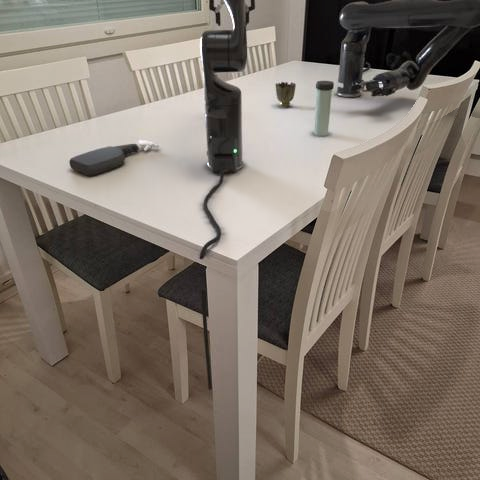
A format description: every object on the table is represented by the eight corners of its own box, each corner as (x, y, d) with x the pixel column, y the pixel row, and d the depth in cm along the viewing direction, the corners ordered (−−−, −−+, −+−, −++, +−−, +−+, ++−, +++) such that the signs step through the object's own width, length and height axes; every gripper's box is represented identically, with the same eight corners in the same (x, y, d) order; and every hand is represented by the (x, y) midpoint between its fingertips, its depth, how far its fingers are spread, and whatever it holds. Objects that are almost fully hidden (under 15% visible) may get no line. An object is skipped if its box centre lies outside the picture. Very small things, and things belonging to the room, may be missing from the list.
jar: (328, 132, 142) (333, 82, 134) (327, 136, 138) (331, 86, 130) (314, 131, 143) (318, 82, 135) (312, 135, 139) (316, 85, 131)
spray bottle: (67, 168, 120) (139, 144, 136) (91, 178, 114) (163, 151, 130) (65, 157, 118) (137, 134, 134) (89, 167, 112) (162, 142, 128)
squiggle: (400, 92, 202) (376, 71, 205) (417, 76, 202) (392, 56, 205) (405, 81, 191) (380, 59, 194) (423, 64, 191) (397, 42, 194)
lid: (334, 86, 135) (334, 81, 134) (332, 90, 131) (332, 85, 130) (317, 85, 136) (317, 80, 135) (314, 89, 132) (315, 84, 131)
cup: (271, 107, 166) (272, 85, 162) (279, 102, 172) (280, 80, 168) (290, 109, 163) (291, 87, 159) (297, 104, 169) (298, 82, 165)
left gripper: (206, -34, 131) (209, 27, 139) (254, -35, 130) (254, 26, 139) (209, -34, 137) (211, 24, 146) (255, -35, 136) (255, 23, 145)
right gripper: (371, 69, 159) (344, 76, 150) (407, 74, 150) (382, 82, 141) (368, 91, 163) (342, 99, 154) (404, 97, 154) (378, 106, 145)
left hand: (232, 25), depth 142 cm, fingers open, 8 cm apart
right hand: (361, 91), depth 147 cm, fingers open, 8 cm apart
